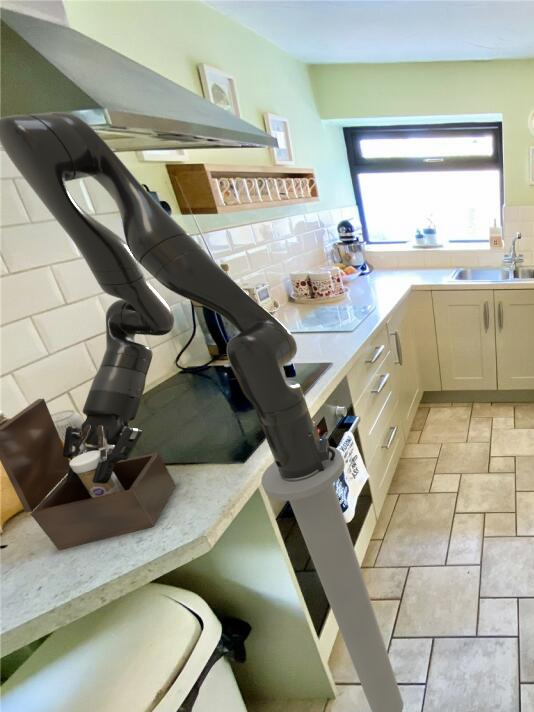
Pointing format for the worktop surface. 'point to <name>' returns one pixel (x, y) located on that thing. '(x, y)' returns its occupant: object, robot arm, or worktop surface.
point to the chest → (107, 504)
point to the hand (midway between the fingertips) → (87, 482)
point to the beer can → (67, 423)
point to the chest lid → (32, 454)
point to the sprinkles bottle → (86, 470)
